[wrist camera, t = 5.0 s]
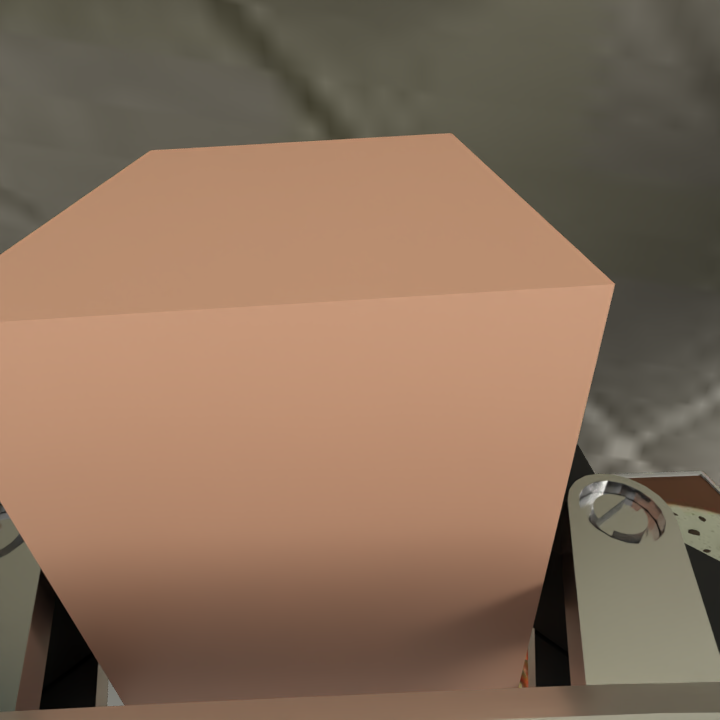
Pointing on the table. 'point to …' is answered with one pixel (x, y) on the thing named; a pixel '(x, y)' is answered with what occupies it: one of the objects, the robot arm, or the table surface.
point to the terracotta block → (296, 417)
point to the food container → (689, 505)
